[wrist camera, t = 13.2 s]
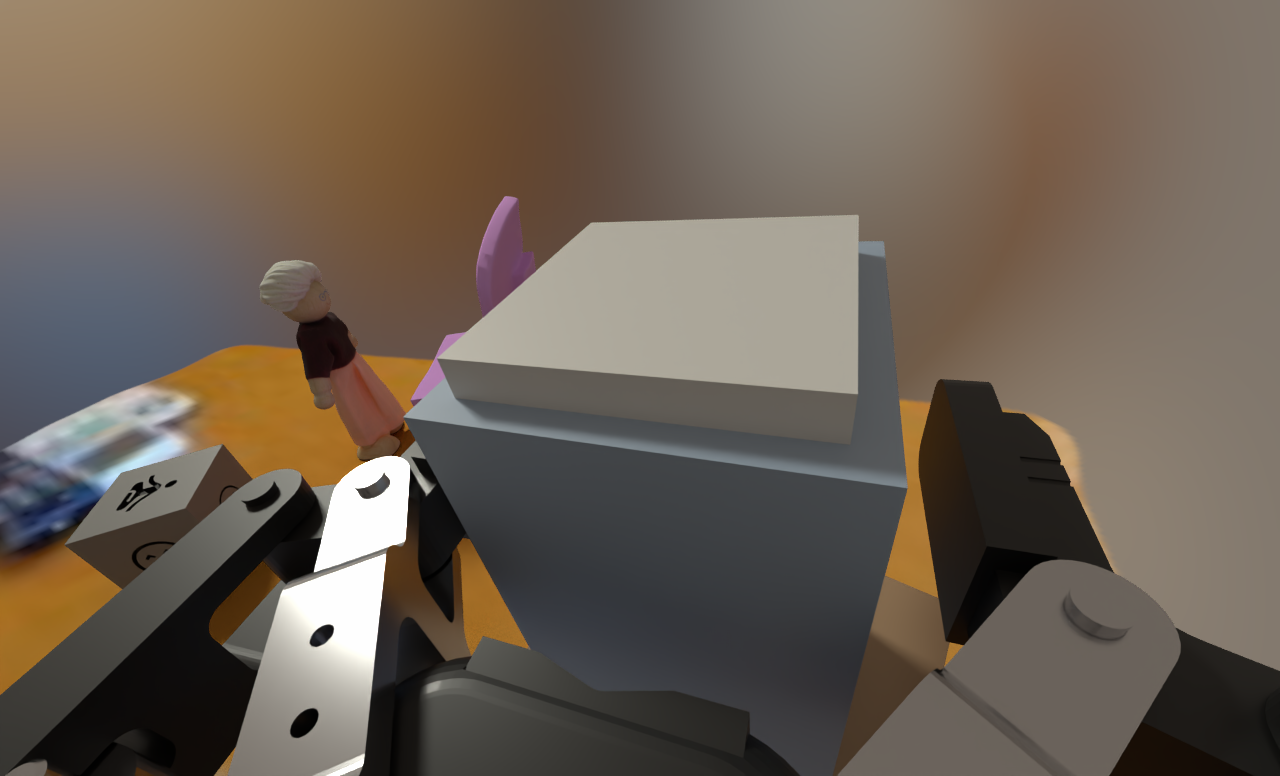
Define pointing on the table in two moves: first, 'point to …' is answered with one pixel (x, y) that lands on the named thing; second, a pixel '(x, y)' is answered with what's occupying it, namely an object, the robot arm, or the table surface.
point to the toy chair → (491, 276)
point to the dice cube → (154, 511)
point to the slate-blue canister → (687, 462)
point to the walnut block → (893, 661)
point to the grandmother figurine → (334, 359)
